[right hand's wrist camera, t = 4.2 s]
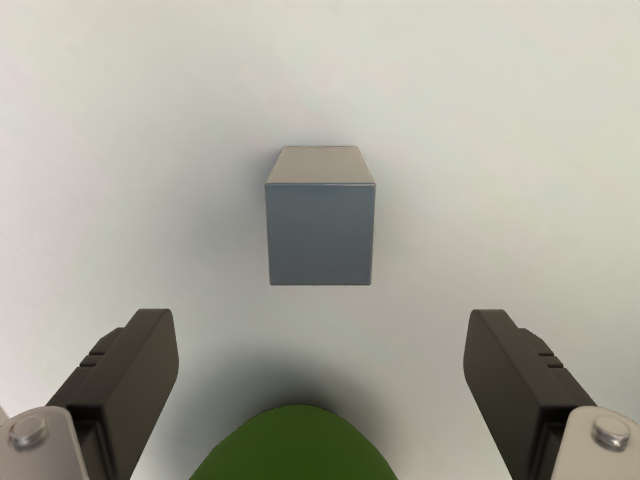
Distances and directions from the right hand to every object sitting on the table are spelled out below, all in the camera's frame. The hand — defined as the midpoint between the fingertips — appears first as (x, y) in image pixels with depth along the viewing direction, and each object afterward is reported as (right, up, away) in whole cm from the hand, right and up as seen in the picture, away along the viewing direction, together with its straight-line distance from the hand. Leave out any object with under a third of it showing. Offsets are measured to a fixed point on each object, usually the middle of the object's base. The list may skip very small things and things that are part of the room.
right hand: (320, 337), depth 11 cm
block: (0, +6, +16) cm, 17 cm away
